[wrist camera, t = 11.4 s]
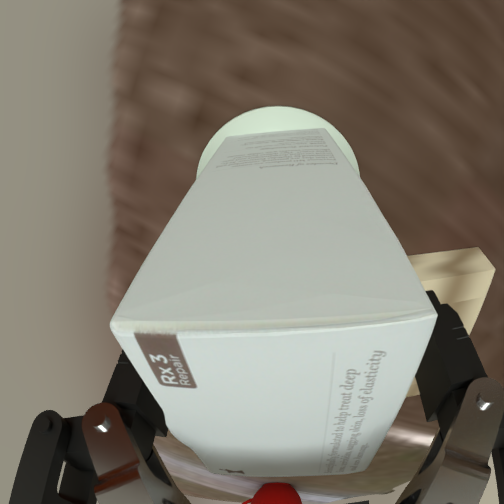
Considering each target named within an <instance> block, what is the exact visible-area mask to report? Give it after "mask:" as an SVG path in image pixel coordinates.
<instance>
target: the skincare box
mask: <svg viewBox="0 0 504 504" xmlns="http://www.w3.org/2000/svg"><path fill="white" fill-rule="evenodd" d="M437 316H438V315H437V313H436V311H435V309H434V307H433V305H432V303H431V301H430V299H429V297H428V295H427V294H426V292H425V290H424V288H423V286H422V284H421V282H420V280H419V278H418V276H417V274H416V272H415V270H414V268H413V267H412V265H411V263H410V261H409V259H408V257H407V255H406V254H405V252H404V250H403V248H402V246H401V244H400V242H399V241H398V239H397V237H396V236H395V234H394V232H393V231H392V229H391V228H390V226H389V224H388V223H387V221H386V220H385V218H384V216H383V215H382V213H381V211H380V210H379V208H378V206H377V204H376V203H375V201H374V199H373V198H372V196H371V194H370V193H369V191H368V189H367V187H366V186H365V184H364V183H363V182H362V180H361V178H360V177H359V175H358V174H357V172H356V171H355V169H354V168H353V166H352V165H351V163H350V162H349V160H348V159H347V158H346V156H345V155H344V153H343V152H342V150H341V149H340V148H339V146H338V145H337V143H336V142H335V141H334V139H333V138H332V137H331V135H330V134H329V133H328V131H327V130H326V129H325V128H313V129H297V130H284V131H273V132H262V133H253V134H244V135H234V136H228V137H226V138H225V139H224V141H223V142H222V144H221V145H220V146H219V148H218V149H217V151H216V152H215V153H214V155H213V156H212V158H211V159H210V161H209V162H208V164H207V165H206V166H205V168H204V169H203V171H202V172H201V174H200V175H199V177H198V178H197V180H196V181H195V182H194V184H193V185H192V187H191V188H190V190H189V191H188V193H187V194H186V196H185V197H184V199H183V201H182V202H181V204H180V205H179V207H178V208H177V210H176V212H175V213H174V215H173V216H172V218H171V219H170V221H169V222H168V224H167V226H166V227H165V229H164V230H163V232H162V234H161V235H160V237H159V238H158V240H157V242H156V243H155V245H154V246H153V248H152V250H151V251H150V253H149V254H148V256H147V258H146V259H145V261H144V263H143V264H142V266H141V268H140V270H139V271H138V273H137V275H136V277H135V278H134V280H133V282H132V283H131V285H130V287H129V289H128V291H127V292H126V294H125V296H124V298H123V299H122V301H121V303H120V305H119V307H118V308H117V310H116V312H115V314H114V316H113V317H112V319H111V322H110V329H111V331H112V333H113V334H114V336H115V337H116V339H117V341H118V342H119V344H120V345H121V347H122V349H123V350H124V352H125V353H126V355H127V357H128V358H129V360H130V361H131V363H132V364H133V366H134V368H135V369H136V371H137V372H138V374H139V375H140V377H141V378H142V380H143V381H144V383H145V384H146V386H147V387H148V389H149V391H150V392H151V394H152V395H153V397H154V398H155V400H156V401H157V402H158V404H159V405H160V407H161V408H162V410H163V412H164V415H165V421H166V425H167V427H168V429H169V430H170V432H171V433H172V434H173V435H174V436H175V437H176V438H177V439H178V440H179V441H181V442H182V443H183V444H185V445H186V446H188V447H190V448H191V449H192V450H193V451H194V452H195V453H196V454H197V456H198V457H199V458H200V460H201V461H202V462H203V464H204V465H205V467H206V468H207V469H208V470H209V471H210V472H211V473H214V474H223V475H235V476H252V477H290V476H317V475H337V474H348V473H355V472H361V471H364V470H366V469H367V467H368V466H369V464H370V463H371V461H372V459H373V457H374V456H375V454H376V452H377V450H378V449H379V447H380V445H381V443H382V442H383V440H384V438H385V436H386V434H387V432H388V430H389V429H390V427H391V425H392V423H393V421H394V419H395V417H396V415H397V413H398V411H399V409H400V407H401V405H402V403H403V401H404V399H405V397H406V395H407V393H408V390H409V388H410V386H411V384H412V381H413V379H414V377H415V374H416V372H417V370H418V367H419V365H420V363H421V360H422V358H423V355H424V353H425V350H426V348H427V345H428V342H429V340H430V337H431V334H432V332H433V329H434V326H435V323H436V320H437Z"/></svg>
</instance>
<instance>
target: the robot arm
mask: <svg viewBox="0 0 504 504" xmlns="http://www.w3.org/2000/svg"><path fill="white" fill-rule="evenodd" d="M425 292H426V294H427V295H428V297H429V299H430V301H431V303H432V305H433V307H434V309H435V311H436V313H437V315H438V316H437V320H436V323H435V326H434V329H433V332H432V334H431V337H430V340H429V342H428V345H427V348H426V350H425V353H424V355H423V358H422V360H421V363H420V365H419V367H418V370H417V372H416V374H415V378H416V382H417V385H418V389H419V393H420V396H421V400H422V404H423V408H424V412H425V416H426V420H427V422H430V421H434V420H438V423H439V428H438V430H437V432H436V434H435V437H434V439H433V441H432V443H431V445H430V447H429V449H428V451H427V453H426V455H425V457H424V459H423V461H422V463H421V465H420V467H419V469H418V470H417V472H416V474H415V476H414V477H413V479H412V480H411V482H410V483H409V484H408V485H407V487H406V488H405V490H404V491H403V493H402V494H401V496H400V497H399V499H398V500H397V502H396V503H395V504H479V502H480V499H481V497H482V495H483V492H484V490H485V488H486V485H487V483H488V480H489V477H490V473H491V468H490V467H489V466H488V460H489V457H490V454H491V452H492V457H493V463H494V468H495V475H496V481H497V489H498V497H499V504H504V388H503V387H502V386H501V385H500V384H499V383H498V382H497V381H496V380H494V379H492V378H488V377H487V375H486V373H485V371H484V368H483V366H482V364H481V361H480V359H479V357H478V354H477V352H476V350H475V348H474V346H473V343H472V341H471V339H470V338H469V335H468V333H467V331H466V329H465V328H464V324H463V322H462V320H461V318H460V316H459V315H458V313H457V312H456V311H455V310H454V309H453V308H452V307H451V306H450V305H448V304H447V303H446V304H440V302H439V300H438V298H437V296H436V294H435V292H434V291H433V290H428V291H425ZM167 431H168V427H167V425H166V421H165V415H164V412H163V410H162V408H161V407H160V405H159V404H158V402H157V401H156V400H155V398H154V397H153V395H152V394H151V392H150V391H149V389H148V387H147V386H146V384H145V383H144V381H143V380H142V378H141V377H140V375H139V374H138V372H137V371H136V369H135V368H134V366H133V364H132V363H131V361H130V360H129V358H128V357H127V355H126V353H125V352H124V350H122V354H121V355H120V357H119V360H118V364H117V365H116V367H115V370H114V372H113V375H112V378H111V380H110V383H109V385H108V388H107V391H106V393H105V396H104V398H103V401H102V402H101V403H98V404H95V405H93V406H91V407H90V408H89V409H88V410H87V411H86V413H85V414H84V415H83V416H77V417H71V418H62V417H61V416H60V415H59V414H58V413H57V412H55V411H53V410H46V411H44V412H42V413H40V414H39V415H38V416H37V417H36V418H35V420H34V422H33V424H32V427H31V430H30V433H29V435H28V438H27V441H26V444H25V448H24V451H23V454H22V457H21V460H20V464H19V467H18V470H17V474H16V477H15V481H14V485H13V489H12V493H11V497H10V501H9V504H96V502H97V501H98V503H99V504H191V503H190V502H189V500H188V499H187V498H186V497H185V496H184V494H183V493H182V492H181V491H180V490H179V489H178V487H177V486H176V484H175V483H174V481H173V479H172V477H171V476H170V474H169V472H168V470H167V469H166V467H165V465H164V463H163V461H162V459H161V457H160V456H159V454H158V452H157V450H156V448H155V446H154V445H153V442H154V438H155V436H161V437H166V436H167ZM63 461H65V462H66V465H65V469H64V473H63V477H62V481H61V485H60V490H59V493H57V485H58V480H59V476H60V472H61V469H62V464H63ZM348 504H369V501H362V502H355V503H348Z"/></svg>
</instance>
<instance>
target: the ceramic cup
mask: <svg viewBox="0 0 504 504" xmlns="http://www.w3.org/2000/svg"><path fill="white" fill-rule="evenodd" d="M250 502H251V504H302V502H301V499H300V496H299V495H298V493H297V492H296V490H295V489H294V488H293V487H292V486H290V484H287V483H268V484H264V485H263V486H262V487H261V488H260V489H259V490H258V491H257V492H256V494H255V495H254V497H253V498H252V499H249V500H247V501H245V502H244V503H242V504H248V503H250Z"/></svg>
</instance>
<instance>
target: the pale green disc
mask: <svg viewBox="0 0 504 504" xmlns="http://www.w3.org/2000/svg"><path fill="white" fill-rule="evenodd" d="M313 128H325V129H326V130H327V131H328V133H329V134H330V135H331V137H332V138H333V139H334V141H335V142H336V143H337V145H338V146H339V148H340V149H341V150H342V152H343V153H344V155H345V156H346V158H347V159H348V160H349V162H350V163H351V165H352V166H353V168H354V169H355V171H356V172H357V174H358V175H359V177H360V174H359V168H358V164H357V161H356V158H355V155H354V153H353V151H352V149H351V147H350V146H349V144H348V142H347V141H346V140H345V138H344V137H343V136H342V135H341V133H340V132H339V131H338V130H337V129H336V128H334V127H333V126H332V125H331V124H330V123H329V122H327V121H326V120H324V119H323V118H321V117H319V116H318V115H316V114H314V113H312V112H309V111H306V110H303V109H300V108H295V107H291V106H266V107H261V108H256V109H253V110H250V111H247V112H244V113H242V114H240V115H238V116H236V117H235V118H233V119H232V120H230V121H229V122H227V123H226V124H225V125H224V126H223V127H221V128H220V129H219V130H218V131H217V132H216V134H215V135H214V136H213V137H212V139H211V140H210V141H209V143H208V145H207V146H206V148H205V150H204V152H203V154H202V156H201V159H200V162H199V166H198V169H197V178H198V177H199V175H200V174H201V172H202V171H203V169H204V168H205V166H206V165H207V164H208V162H209V161H210V159H211V158H212V156H213V155H214V153H215V152H216V151H217V149H218V148H219V146H220V145H221V144H222V142H223V141H224V139H225V138H226V137H228V136H234V135H244V134H253V133H262V132H273V131H284V130H297V129H313ZM197 178H196V180H197Z"/></svg>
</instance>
